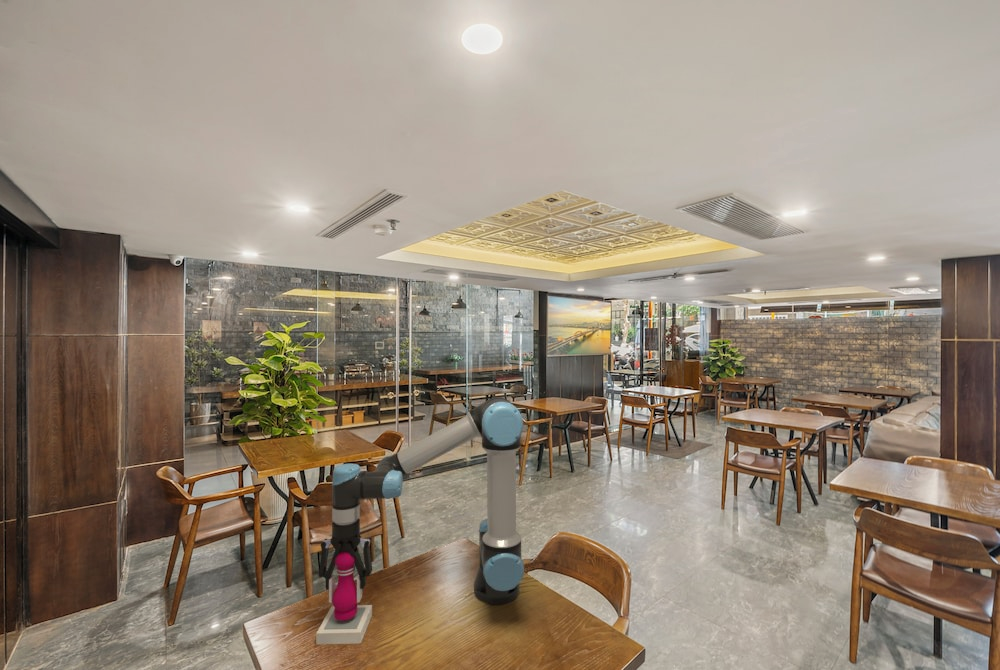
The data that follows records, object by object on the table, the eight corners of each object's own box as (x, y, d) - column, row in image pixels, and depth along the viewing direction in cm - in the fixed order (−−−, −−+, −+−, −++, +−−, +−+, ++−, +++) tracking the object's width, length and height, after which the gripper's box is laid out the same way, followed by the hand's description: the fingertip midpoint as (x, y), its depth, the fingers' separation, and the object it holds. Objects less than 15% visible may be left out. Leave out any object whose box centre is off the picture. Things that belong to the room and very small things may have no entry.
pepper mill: (350, 623, 118) (350, 551, 119) (326, 620, 120) (327, 548, 120) (363, 607, 126) (364, 539, 126) (341, 604, 127) (341, 537, 127)
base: (372, 614, 129) (372, 604, 129) (360, 643, 117) (360, 631, 117) (331, 615, 128) (331, 604, 128) (316, 644, 116) (316, 632, 116)
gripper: (384, 513, 127) (383, 591, 127) (315, 514, 126) (315, 592, 126) (378, 525, 119) (377, 607, 119) (305, 526, 119) (304, 608, 119)
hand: (345, 599), depth 123 cm, fingers closed on pepper mill, 7 cm apart
